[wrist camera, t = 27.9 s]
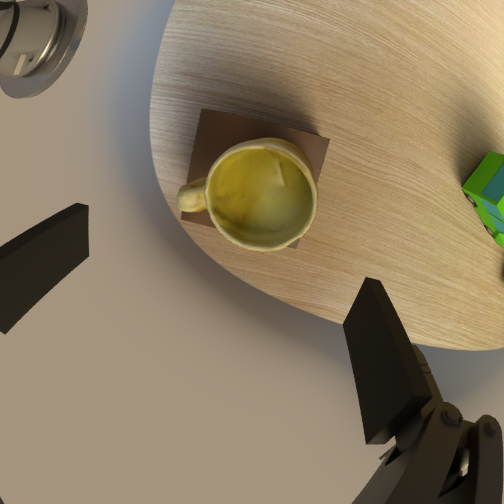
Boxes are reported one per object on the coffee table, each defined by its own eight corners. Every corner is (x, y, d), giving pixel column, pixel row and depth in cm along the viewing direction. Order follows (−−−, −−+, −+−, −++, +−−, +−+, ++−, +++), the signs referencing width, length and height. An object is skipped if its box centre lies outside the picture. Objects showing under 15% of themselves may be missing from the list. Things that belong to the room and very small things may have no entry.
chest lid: (182, 217, 33) (180, 219, 32) (203, 108, 28) (201, 108, 27) (295, 246, 33) (296, 249, 32) (328, 138, 28) (330, 139, 27)
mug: (335, 128, 25) (323, 170, 18) (318, 214, 32) (299, 278, 25) (215, 108, 27) (159, 142, 20) (216, 191, 34) (173, 242, 27)
